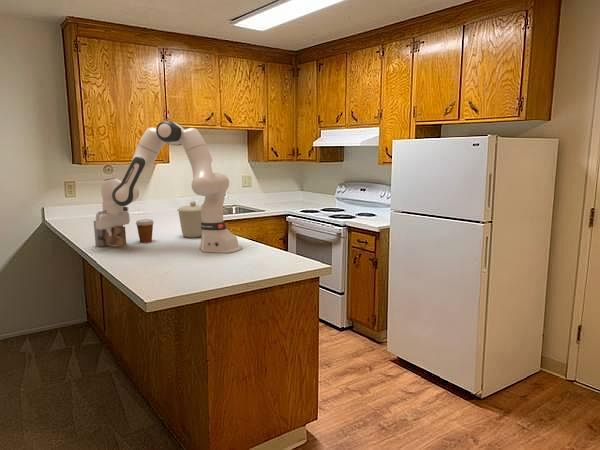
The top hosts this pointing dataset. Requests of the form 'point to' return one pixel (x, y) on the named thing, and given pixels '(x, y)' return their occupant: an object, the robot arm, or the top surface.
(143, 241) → the disposable coffee cup
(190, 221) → the canister
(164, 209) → the top surface
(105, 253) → the top surface
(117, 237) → the walnut door
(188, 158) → the robot arm
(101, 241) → the cabinet side
